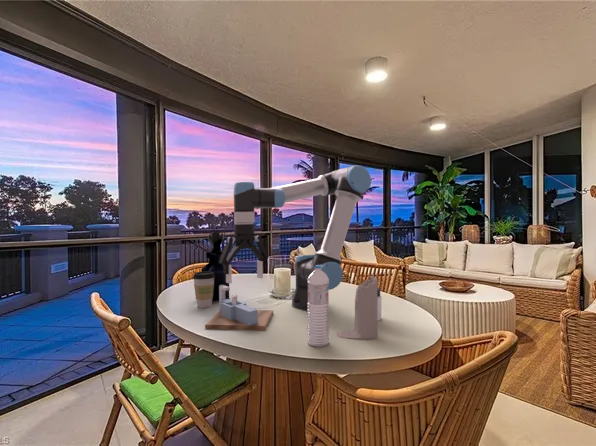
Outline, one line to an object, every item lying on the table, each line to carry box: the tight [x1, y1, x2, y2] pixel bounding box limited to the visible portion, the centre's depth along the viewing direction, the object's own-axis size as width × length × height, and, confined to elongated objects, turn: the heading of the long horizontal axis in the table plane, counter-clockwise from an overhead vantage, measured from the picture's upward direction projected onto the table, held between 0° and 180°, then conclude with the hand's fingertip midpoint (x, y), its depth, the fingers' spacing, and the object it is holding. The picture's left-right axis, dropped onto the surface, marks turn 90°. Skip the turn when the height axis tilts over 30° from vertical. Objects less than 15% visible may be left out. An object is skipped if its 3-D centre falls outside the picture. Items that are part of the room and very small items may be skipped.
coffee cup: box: [192, 271, 215, 309], centre depth 145 cm, size 10×10×15 cm
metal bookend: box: [335, 275, 378, 340], centre depth 109 cm, size 7×14×20 cm, turn 88°
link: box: [221, 298, 259, 326], centre depth 124 cm, size 21×7×5 cm, turn 43°
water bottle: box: [306, 265, 330, 348], centre depth 102 cm, size 7×7×25 cm
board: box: [204, 309, 274, 331], centre depth 125 cm, size 22×19×2 cm
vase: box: [201, 227, 230, 303], centre depth 158 cm, size 14×12×35 cm
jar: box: [377, 287, 382, 322], centre depth 127 cm, size 9×8×12 cm
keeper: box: [218, 285, 231, 312], centre depth 132 cm, size 6×2×12 cm, turn 41°
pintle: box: [231, 294, 238, 306], centre depth 126 cm, size 2×2×10 cm
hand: (245, 280), depth 120 cm, fingers open, 13 cm apart
